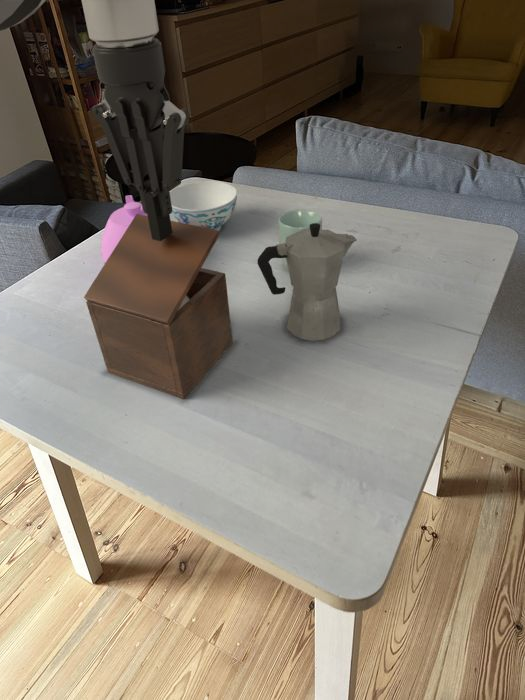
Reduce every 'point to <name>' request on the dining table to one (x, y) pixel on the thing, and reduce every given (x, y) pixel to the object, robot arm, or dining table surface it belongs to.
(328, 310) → the coffeepot
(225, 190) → the chinaware
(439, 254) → the dining table surface
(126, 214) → the teapot
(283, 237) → the cup
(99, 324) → the chest
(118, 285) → the lid
